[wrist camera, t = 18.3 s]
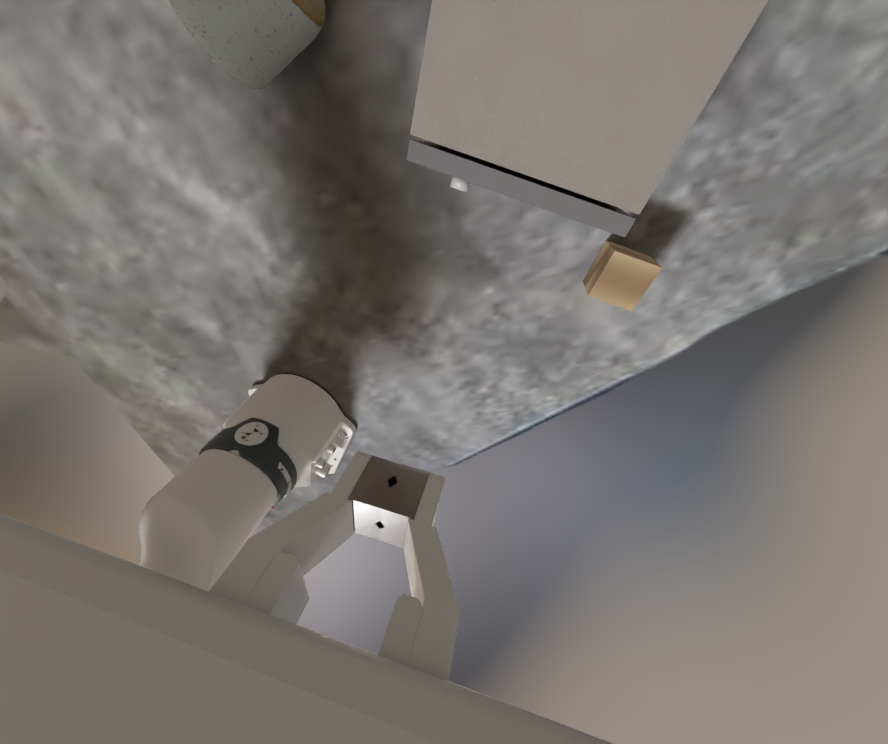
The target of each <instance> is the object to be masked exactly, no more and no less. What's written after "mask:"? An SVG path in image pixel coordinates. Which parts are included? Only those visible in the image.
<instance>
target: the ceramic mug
mask: <svg viewBox="0 0 888 744" xmlns="http://www.w3.org/2000/svg"><path fill="white" fill-rule="evenodd" d="M169 1H170V3H171V5H172V7H173V9H174V10H175V12H176V14H177V15H178V17H179V19H180V20H181V21H182V23H183V24H184V26H185V27H186V29H187V30H188V31H189V33H190V34H191V36H192V37H193V38H194V39H195V41H196V42H197V43H198V44H199V46H200V47H201V48H202V49H203V51H204V52H205V53H206V54H207V55H208V56H209V57H210V58H211V59H212V60H213V61H214V62H215V63H216V64H217V65H218V66H219V67H220V68H221V69H223V70H224V71H225V72H226V73H227V74H228V75H229V76H230V77H232V78H233V79H235V80H236V81H238V82H239V83H241V84H243V85H245V86H247V87H249V88H251V89H263V88H265V87H266V86H267V85H268V84H269V83H270V82H271V81H272V80H273V79H274V78H275V77H276V76H277V75H278V74H279V73H280V72H281V71H282V70H283V69H284V68H285V67H286V66H287V65H288V64H289V63H290V62H291V61H292V60H293V59H294V58H295V57H296V56H297V55H298V54H299V53H300V52H301V51H303V50H304V49H305V48H306V47H307V46H308V45H309V44H310V43H311V42H312V41H313V40H314V39H315V38H316V36H317V35H318V33H319V32H320V30H321V29H322V27H323V25H324V23H325V19H326V7H325V1H324V0H169Z"/></svg>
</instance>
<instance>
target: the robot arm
mask: <svg viewBox="0 0 888 744" xmlns="http://www.w3.org/2000/svg"><path fill="white" fill-rule="evenodd" d="M248 393H249V396H250V397H249V398H248V399H247V400H246V401H245V402H244V403H243V404H242V405H241V406H240V407H239V408H238V409H237V410H236V411H235V412H234V413H233V414H232V415H231V416H230V417H229V418H228V419H227V420H226V421H225V422H224V425H223V426H224V429H223V430H222V431H221V432H220V433H218V434H217V435H216V436H214V437H213V438H211V439H210V440H209V441H208V443H207V444H206V445H205V446H204V447H203V448H202V449H201V450H200V453H199V456H198V457H197V458H196V459H195V460H193V461H192V462H191V463H190V464H189V465H188V466H187V467H186V468H184V469H183V470H182V471H181V472H180V473H179V474H178V475H176V476H175V477H174V478H173V479H172V480H171V481H170V482H169V483H167V485H165V486H164V487H163V488H162V489H161V490H159V491H158V492H157V493H156V494H155V495H154V496H153V497H152V498H151V499H150V500H149V501H148V503H147V504H146V506H145V507H144V509H143V511H142V514H141V516H140V519H139V524H138V530H139V537H140V541H141V547H142V553H141V560H140V563H139V565H136V564H134V563H131V562H128V561H125V560H123V559H120V558H117V557H115V556H112V555H110V554H107V553H104V552H102V551H99V550H96V549H93V548H91V547H88V546H85V545H83V544H80V543H77V542H75V541H72V540H69V539H66V538H64V537H61V536H59V535H56V534H53V533H51V532H48V531H45V530H43V529H40V528H37V527H34V526H32V525H29V524H27V523H24V522H21V521H18V520H16V519H13V518H10V517H8V516H5V515H2V514H0V744H615V743H613V742H610V741H607V740H605V739H602V738H599V737H597V736H594V735H591V734H589V733H586V732H583V731H580V730H578V729H575V728H572V727H569V726H567V725H564V724H562V723H559V722H557V721H554V720H551V719H549V718H546V717H543V716H540V715H538V714H535V713H532V712H530V711H527V710H524V709H521V708H519V707H516V706H514V705H511V704H508V703H506V702H503V701H500V700H498V699H495V698H492V697H489V696H487V695H484V694H482V693H479V692H476V691H473V690H471V689H468V688H466V687H463V686H460V685H458V684H455V683H452V682H450V681H448V680H449V674H450V668H451V662H452V656H453V650H454V644H455V638H456V632H457V626H458V620H459V614H460V611H459V607H458V603H457V600H456V596H455V593H454V589H453V586H452V582H451V579H450V575H449V572H448V568H447V564H446V561H445V557H444V553H443V550H442V546H441V543H440V539H439V536H438V532H437V529H436V527H434V526H433V525H434V521H435V518H436V514H437V510H438V506H439V502H440V498H441V494H442V490H443V485H444V481H445V477H444V476H440V475H436V474H433V473H430V472H428V471H424V470H421V469H417V468H414V467H410V466H406V465H403V464H398V463H395V462H392V461H388V460H385V459H382V458H379V457H376V456H373V455H370V454H366V453H363V452H359V451H358V452H357V453H356V454H355V455H354V456H353V458H352V460H351V461H350V463H349V465H348V466H347V468H346V470H345V471H344V473H343V474H342V476H341V478H340V479H339V481H338V483H337V484H336V486H335V487H334V489H333V491H332V492H331V493H327V492H326V493H324V494H323V495H321V496H319V497H318V498H316V499H314V500H313V501H311V502H309V503H308V504H306V505H304V506H303V507H301V508H299V509H297V510H296V511H294V512H292V513H291V514H289V515H287V516H286V517H284V518H282V519H281V520H279V521H277V522H276V523H274V524H272V525H271V526H269V527H267V528H265V529H264V530H262V531H260V532H259V533H257V534H255V535H254V536H252V537H250V536H251V535H252V533H253V532H254V531H255V529H256V528H257V526H258V525H259V524H260V522H261V521H262V519H263V518H264V517H265V515H266V514H267V513H268V511H269V510H270V508H273V509H274V508H275V507H274V506H273V505H274V504H278V502H279V501H280V500H281V499H283V498H285V497H286V496H287V495H288V493H289V492H290V491H291V490H292V489H293V488H294V487H306V486H310V485H311V484H312V483H313V482H314V481H315V479H316V478H317V476H318V475H319V476H320V477H322V478H325V477H326V476H327V474H333V473H335V471H336V470H337V469H338V467H339V465H340V463H341V461H342V459H343V457H344V455H345V453H346V450H347V448H348V446H349V444H350V442H351V440H352V438H353V436H354V434H355V432H356V427H355V425H354V424H353V423H352V422H351V421H350V420H349V419H348V418H346V417H345V416H344V415H343V413H342V412H341V410H340V408H339V407H338V405H337V404H336V402H335V401H334V400H333V399H332V397H331V396H330V395H329V394H328V393H327V392H325V391H324V390H323V389H322V388H320V387H319V386H318V385H316V384H314V383H313V382H311V381H309V380H307V379H305V378H302V377H299V376H296V375H291V374H279V375H275V376H273V377H271V378H270V379H268V380H267V381H266V382H265V383H264V384H259V385H254V386H252V387H251V388H250V390H249V391H248ZM354 532H355V533H358V534H362V535H365V536H369V537H372V538H375V539H378V540H381V541H384V542H387V543H390V544H392V545H395V546H398V547H401V548H404V552H405V559H406V564H407V571H408V577H409V583H410V590H411V596H408V595H405V594H402V595H401V596H399V597H398V598H397V600H396V603H395V606H394V609H393V612H392V615H391V618H390V621H389V624H388V627H387V630H386V633H385V636H384V639H383V642H382V645H381V648H380V651H379V654H378V655H377V654H375V653H372V652H369V651H367V650H364V649H361V648H359V647H356V646H353V645H350V644H348V643H345V642H342V641H340V640H337V639H334V638H332V637H329V636H326V635H324V634H321V633H318V632H315V631H313V630H310V629H308V628H305V627H302V626H300V625H297V622H298V620H299V618H300V616H301V614H302V612H303V610H304V608H305V606H306V604H307V602H308V600H309V594H308V590H307V587H306V584H305V580H304V578H303V576H304V575H305V574H306V573H307V572H309V571H310V570H311V569H312V568H313V567H315V566H316V565H317V564H318V563H320V562H321V561H322V560H323V559H324V558H326V557H327V556H328V555H329V554H330V553H331V552H333V551H334V550H335V549H336V548H338V547H339V546H340V545H341V544H342V543H344V542H345V541H346V540H347V539H349V538H350V537H351V536H352V535H353V534H354Z"/></svg>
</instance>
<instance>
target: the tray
mask: <svg viewBox="0 0 888 744" xmlns="http://www.w3.org/2000/svg"><path fill="white" fill-rule="evenodd" d="M406 160H408V161H410V162H413V163H416V164H419V165H422V166H424V167H427V168H430V169H433V170H436V171H439V172H441V173H444V174H447V175H450V176H453V177H452V181H451V187H453V188H455V189H458V190H461V191H466V192H467V190H468V186H469V183H472V184H475V185H478V186H481V187H484V188H486V189H489V190H492V191H495V192H498V193H501V194H503V195H506V196H509V197H512V198H515V199H517V200H520V201H523V202H526V203H529V204H532V205H534V206H537V207H540V208H543V209H546V210H548V211H551V212H554V213H557V214H560V215H563V216H565V217H568V218H571V219H574V220H577V221H579V222H582V223H585V224H588V225H591V226H594V227H596V228H599V229H602V230H605V231H608V232H611V233H613V234H616V235H619V236H622V237H626V235H627V234H628V232H629V230H630V229H631V227H632V225H633V224H634V222H635V220H636V219H635V218H634V217H632V216H630V215H629V214H627V213H626V212H624V211H623V210H621V209H620V208H618V207H616V206H613V205H610V204H607V203H604V202H601V201H598V200H596V199H593V198H590V197H587V196H584V195H581V194H579V193H576V192H573V191H570V190H567V189H564V188H561V187H559V186H556V185H553V184H550V183H547V182H544V181H542V180H539V179H536V178H533V177H530V176H527V175H524V174H522V173H519V172H516V171H513V170H510V169H507V168H505V167H502V166H499V165H496V164H493V163H490V162H487V161H485V160H482V159H479V158H476V157H473V156H470V155H468V154H465V153H462V152H459V151H456V150H453V149H450V148H448V147H445V146H442V145H439V144H436V143H433V142H426V141H418V140H409V146H408V153H407V159H406Z"/></svg>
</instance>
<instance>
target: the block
mask: <svg viewBox="0 0 888 744" xmlns="http://www.w3.org/2000/svg"><path fill="white" fill-rule="evenodd" d="M661 269H662V267H661V266H660V265H659V264H658V263H656V262H655V261H654V260H653V259H652V258H651V257H650V256H649V255H646V254H644V253H641V252H638V251H635V250H632V249H630V248H627V247H624V246H621V245H618V244H616V243H613V242H610V241H607V240H606V241H605V243H604V245H603V247H602V248H601V250H600V252H599V254H598V255H597V257H596V259H595V261H594V262H593V264H592V266H591V268H590V270H589V271H588V273H587V275H586V277H585V278H584V280H583V283H584V285H585V288H586V291H587V294H588V296H591V297H594V298H596V299H599V300H602V301H605V302H607V303H610V304H613V305H616V306H618V307H621V308H624V309H627V310H629V311H632V310H633V308H634V307H635V305H636V304H637V303H638V301H639V300H640V298H641V297H642V296H643V294H644V293H645V291H646V290H647V289H648V287H649V286H650V284H651V283H652V282H653V280H654V279H655V277H656V276H657V275H658V273H659V272H660V270H661Z"/></svg>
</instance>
